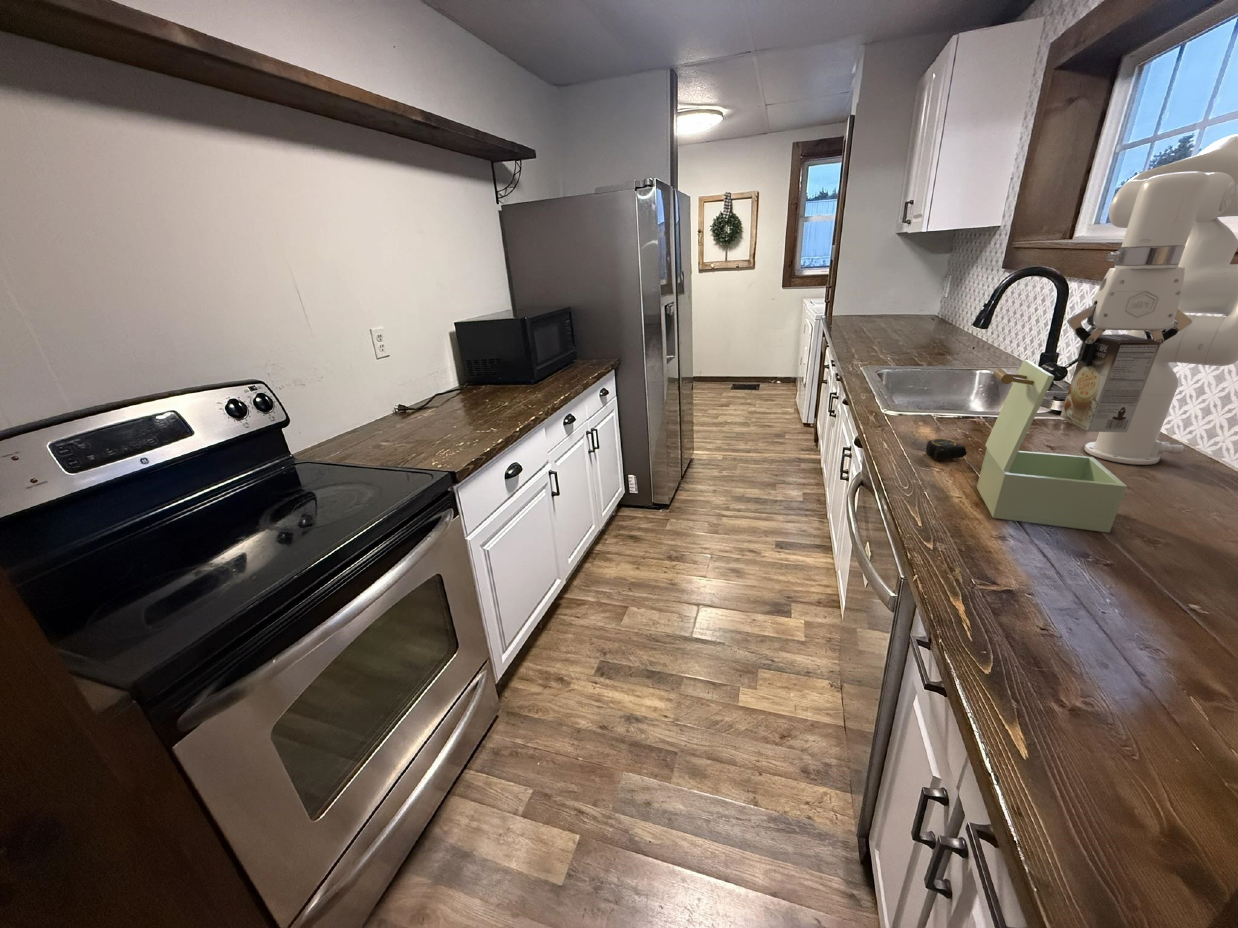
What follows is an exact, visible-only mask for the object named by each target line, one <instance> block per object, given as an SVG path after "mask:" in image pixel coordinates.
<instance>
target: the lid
mask: <svg viewBox="0 0 1238 928" xmlns="http://www.w3.org/2000/svg"><path fill="white" fill-rule="evenodd" d="M993 375H994V377H995V378H996V379H997V380H998V381H1000V382H1001V383H1002V384H1003V385H1009V384H1011V383H1012V385H1011V387H1010V389H1009V391H1008V394H1007V396H1006V398H1005V400H1004V402H1003V404H1002V407H1001V409H1000V411H999V413H998V416H997V418H996V420H995V423H994V424H993V427H992V428H991V431H990V434H989V435H988V438H987V440H986V442H985V444H984V446H985V447H986V449H988V450H989V452H990V453H991V455H992V456H993V457H994V459H995V460H996V462H997V463H998V465H999V466H1000V468H1001V469H1002V470H1003V471H1004V472H1008V471H1009V469H1010V467H1011V465H1012V463H1013V461H1014V459H1015V457H1016V455H1017V453H1018V451H1020V449H1021V446H1022V445H1023V442H1024V441H1025V438H1026V436H1027V433H1028V432H1029V430H1030V428H1031V426H1032V424H1033V422H1034V420H1035V418H1036V415H1037V413H1038V411H1039V410H1040V407H1041V405H1042V403H1043V401H1044V399H1045V397H1046V395H1047V393H1048V391H1049V388H1050V386H1051V385H1052V383H1053V380H1054V378H1055V375H1053V374H1051V373H1050V372H1048V371H1047V370H1045V369H1043V368H1042V367H1040V366H1038V365H1037V364H1035V363H1034V362H1032V361H1031V360H1029V359H1023V360H1022V362H1021V365H1020V367H1019V369H1018V371H1017V373H1013V372H1009V371H1008V370H1007V369H1005V368H1002V367H999V368H997V369H995V370H994V373H993Z"/></svg>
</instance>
